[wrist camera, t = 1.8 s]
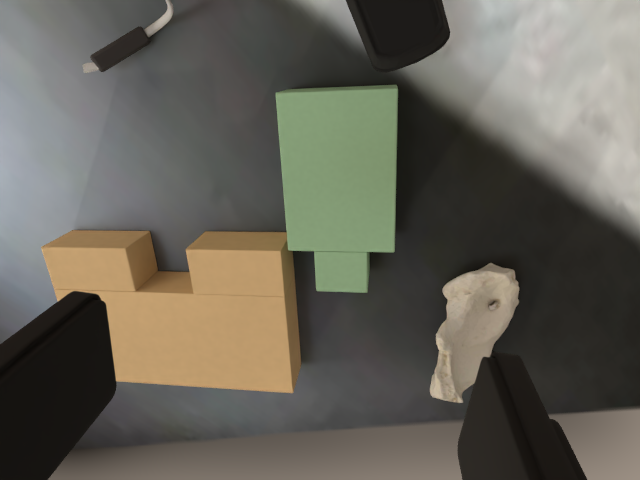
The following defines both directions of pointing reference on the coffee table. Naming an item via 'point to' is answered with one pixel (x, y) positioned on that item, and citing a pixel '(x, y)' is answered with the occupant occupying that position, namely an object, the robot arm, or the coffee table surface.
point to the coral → (471, 327)
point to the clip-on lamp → (126, 44)
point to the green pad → (339, 178)
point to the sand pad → (190, 306)
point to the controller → (399, 30)
